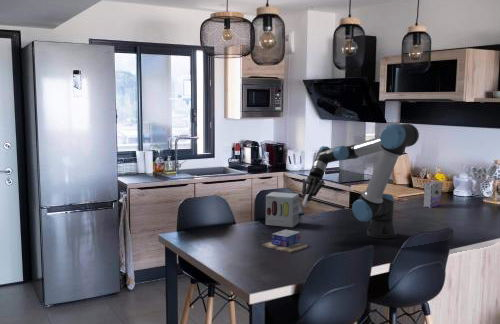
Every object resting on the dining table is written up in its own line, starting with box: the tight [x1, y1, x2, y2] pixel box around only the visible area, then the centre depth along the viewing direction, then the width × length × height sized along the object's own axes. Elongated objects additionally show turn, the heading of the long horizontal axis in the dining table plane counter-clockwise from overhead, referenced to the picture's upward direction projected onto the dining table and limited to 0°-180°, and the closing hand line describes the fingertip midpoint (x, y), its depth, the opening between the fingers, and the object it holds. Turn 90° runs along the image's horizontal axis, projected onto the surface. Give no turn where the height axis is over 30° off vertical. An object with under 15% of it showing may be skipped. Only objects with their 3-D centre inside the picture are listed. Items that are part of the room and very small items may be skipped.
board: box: [261, 241, 308, 254], centre depth 259 cm, size 18×14×1 cm
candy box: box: [422, 181, 443, 209], centre depth 355 cm, size 14×6×16 cm, turn 130°
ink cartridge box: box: [270, 229, 301, 247], centre depth 260 cm, size 10×6×14 cm
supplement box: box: [265, 191, 300, 228], centre depth 306 cm, size 17×13×18 cm
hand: (304, 205), depth 271 cm, fingers closed
